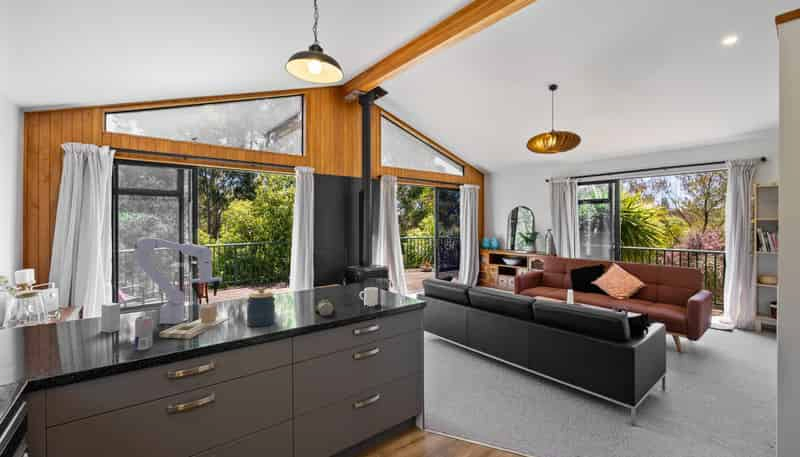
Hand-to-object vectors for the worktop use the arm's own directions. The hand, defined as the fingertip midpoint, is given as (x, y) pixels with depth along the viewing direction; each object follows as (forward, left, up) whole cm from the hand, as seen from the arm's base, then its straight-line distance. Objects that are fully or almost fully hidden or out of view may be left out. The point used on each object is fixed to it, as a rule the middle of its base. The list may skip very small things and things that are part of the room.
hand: (206, 296), depth 176 cm
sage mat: (+7, -9, -10) cm, 16 cm away
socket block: (+7, -25, -10) cm, 28 cm away
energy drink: (+4, -44, -11) cm, 45 cm away
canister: (+33, -8, -11) cm, 36 cm away
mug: (+78, +35, -11) cm, 86 cm away
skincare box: (-27, -27, -11) cm, 39 cm away
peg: (+7, -9, -10) cm, 15 cm away
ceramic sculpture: (+58, +14, -11) cm, 61 cm away
